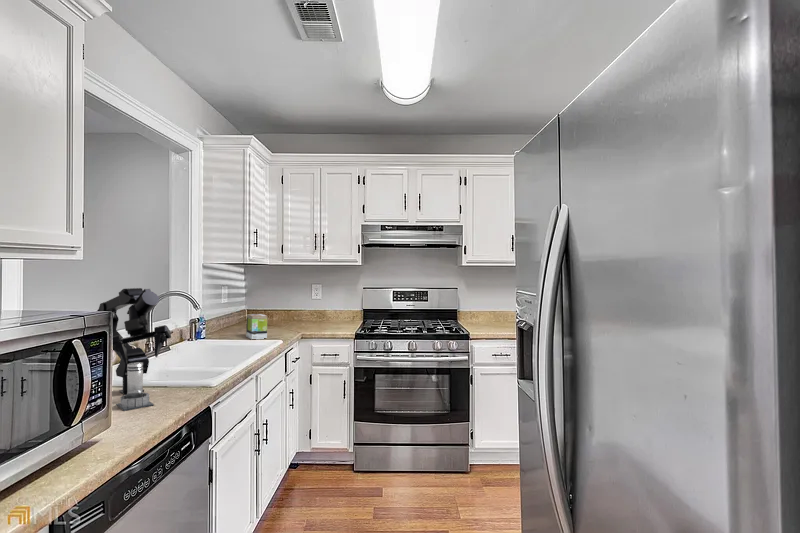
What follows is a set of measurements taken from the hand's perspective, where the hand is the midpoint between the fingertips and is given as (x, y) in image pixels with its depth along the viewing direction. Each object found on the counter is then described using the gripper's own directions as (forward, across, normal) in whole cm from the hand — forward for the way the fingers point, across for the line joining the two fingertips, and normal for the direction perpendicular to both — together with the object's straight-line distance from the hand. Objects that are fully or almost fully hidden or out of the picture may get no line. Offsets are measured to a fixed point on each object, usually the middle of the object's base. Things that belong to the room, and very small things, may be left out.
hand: (141, 360), depth 161 cm
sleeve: (+14, -3, +3) cm, 15 cm away
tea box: (-58, +35, +126) cm, 143 cm away
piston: (+14, -3, +2) cm, 14 cm away
